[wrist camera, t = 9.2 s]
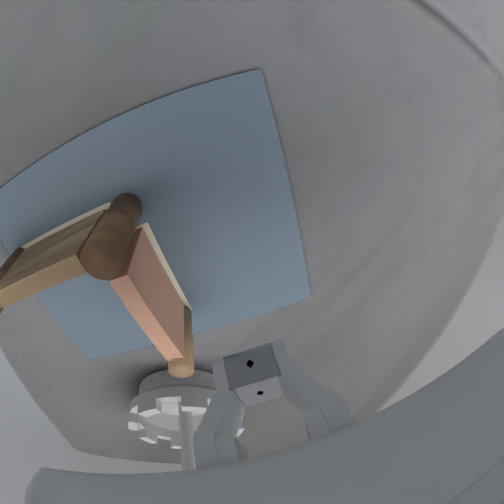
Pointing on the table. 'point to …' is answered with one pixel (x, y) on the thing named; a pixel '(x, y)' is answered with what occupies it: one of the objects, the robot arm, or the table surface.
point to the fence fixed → (73, 252)
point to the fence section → (156, 305)
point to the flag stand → (173, 410)
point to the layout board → (172, 210)
